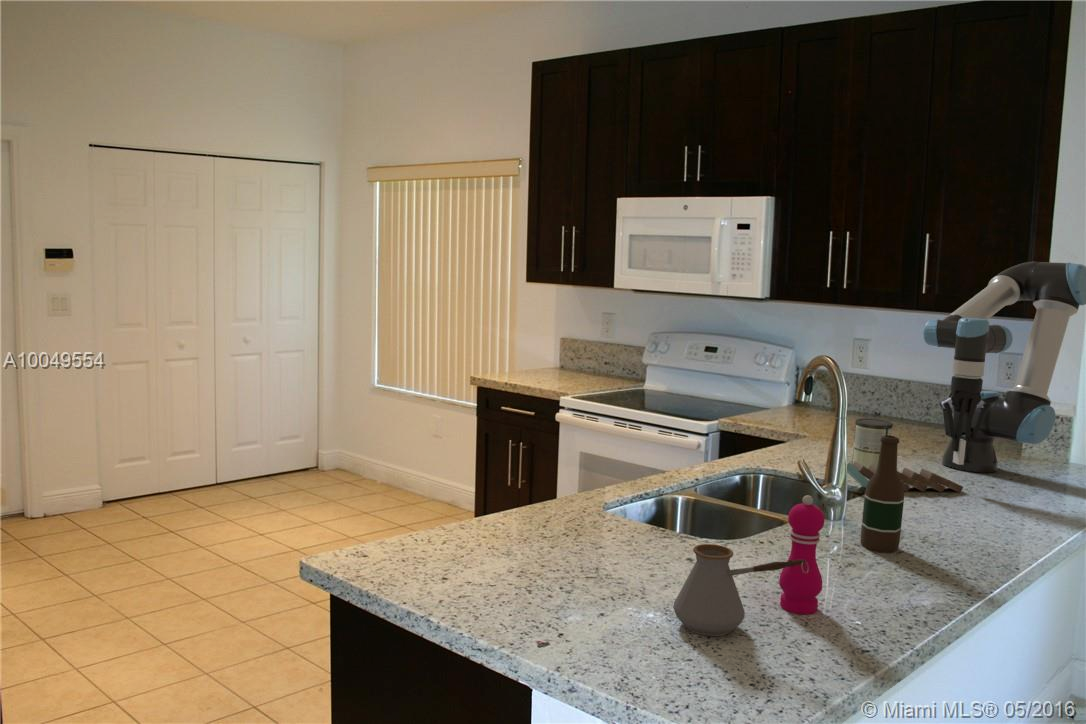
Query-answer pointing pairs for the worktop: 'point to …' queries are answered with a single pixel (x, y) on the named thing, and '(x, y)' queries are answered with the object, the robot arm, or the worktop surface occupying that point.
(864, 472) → the domino
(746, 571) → the coffee pot
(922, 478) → the domino
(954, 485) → the domino
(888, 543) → the beer bottle
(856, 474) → the domino
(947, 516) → the worktop surface
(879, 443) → the coffee can
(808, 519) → the pepper mill
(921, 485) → the domino
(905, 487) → the domino
